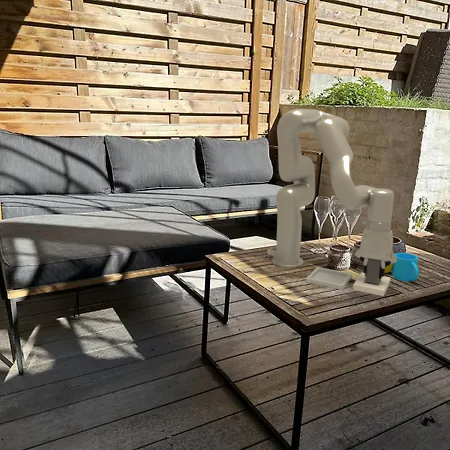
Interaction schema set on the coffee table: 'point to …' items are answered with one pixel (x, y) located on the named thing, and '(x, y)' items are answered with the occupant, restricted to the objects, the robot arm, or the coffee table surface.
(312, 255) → the coffee table surface
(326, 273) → the tray
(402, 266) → the mug
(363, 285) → the block
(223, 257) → the coffee table surface
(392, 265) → the lemon
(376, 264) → the plug
